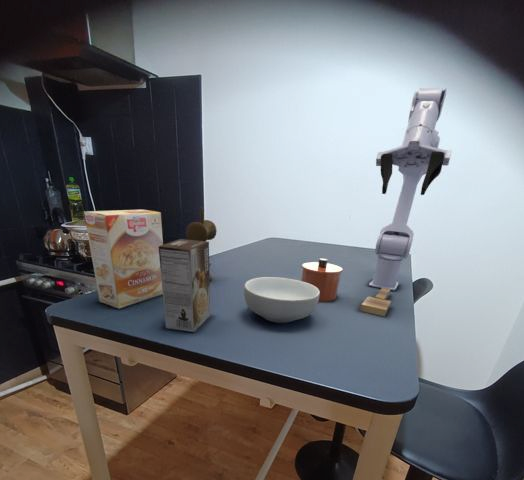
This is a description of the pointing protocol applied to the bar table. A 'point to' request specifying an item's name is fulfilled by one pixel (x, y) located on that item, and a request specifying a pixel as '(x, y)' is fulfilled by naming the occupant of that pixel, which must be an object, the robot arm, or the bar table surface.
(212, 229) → the kendama
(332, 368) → the bar table surface
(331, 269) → the pot lid
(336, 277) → the pot
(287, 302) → the cereal bowl
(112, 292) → the coffeecake box
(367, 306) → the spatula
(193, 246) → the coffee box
